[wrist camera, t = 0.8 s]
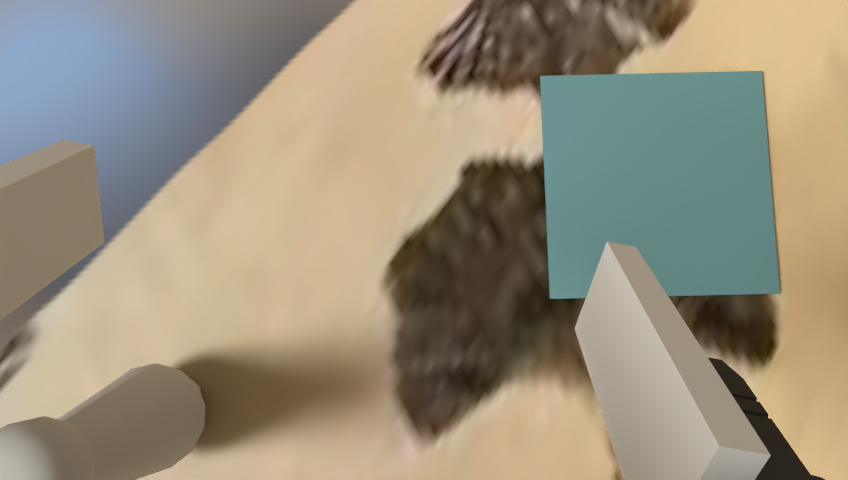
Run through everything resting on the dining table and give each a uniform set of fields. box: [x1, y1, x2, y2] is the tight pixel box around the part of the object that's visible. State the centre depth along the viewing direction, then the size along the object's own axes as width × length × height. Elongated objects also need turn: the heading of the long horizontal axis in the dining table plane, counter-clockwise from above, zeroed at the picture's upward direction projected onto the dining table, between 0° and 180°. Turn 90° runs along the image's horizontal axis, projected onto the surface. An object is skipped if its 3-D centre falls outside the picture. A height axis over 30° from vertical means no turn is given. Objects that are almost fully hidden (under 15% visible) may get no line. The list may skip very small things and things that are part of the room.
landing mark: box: [540, 71, 780, 299], centre depth 33 cm, size 14×14×1 cm
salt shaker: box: [0, 364, 206, 480], centre depth 26 cm, size 6×6×13 cm
